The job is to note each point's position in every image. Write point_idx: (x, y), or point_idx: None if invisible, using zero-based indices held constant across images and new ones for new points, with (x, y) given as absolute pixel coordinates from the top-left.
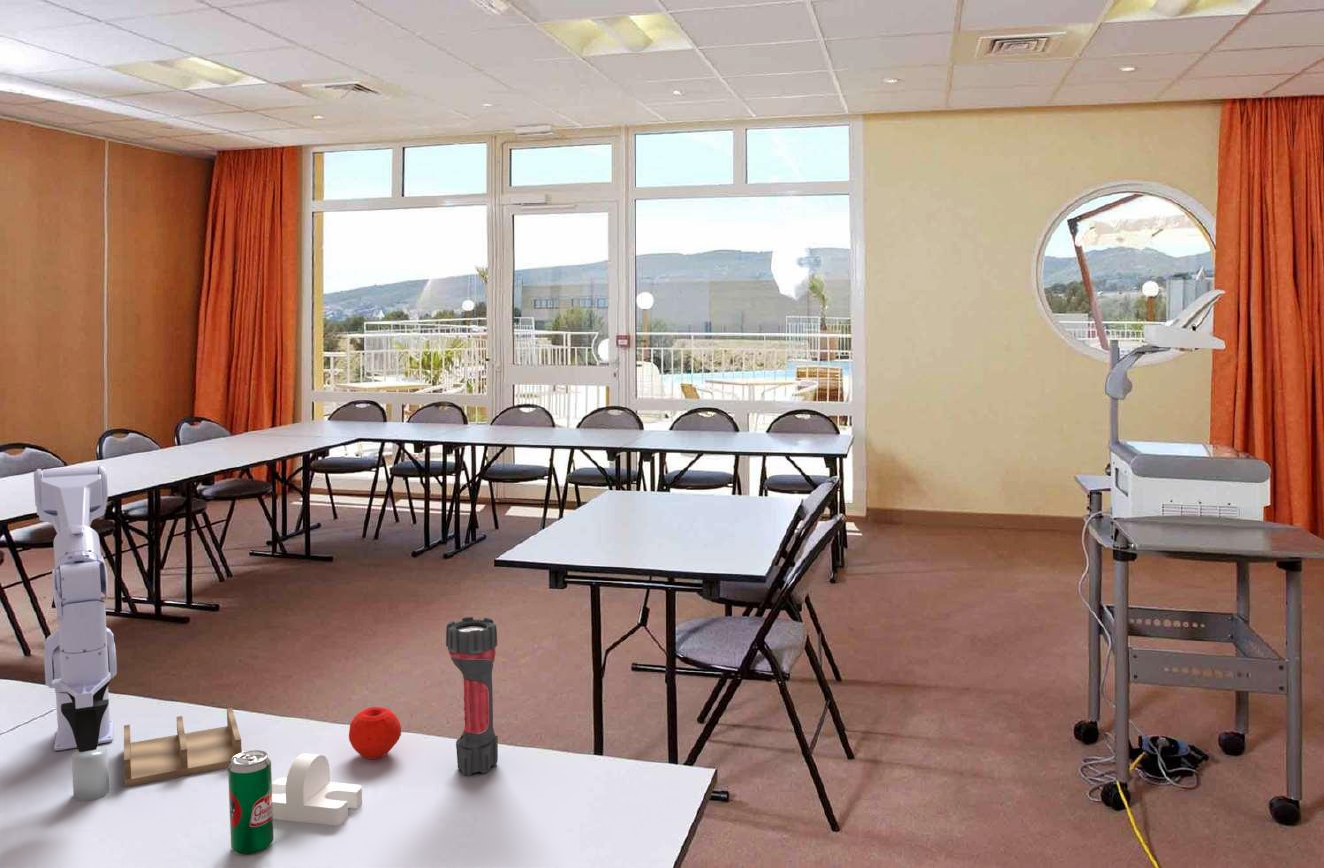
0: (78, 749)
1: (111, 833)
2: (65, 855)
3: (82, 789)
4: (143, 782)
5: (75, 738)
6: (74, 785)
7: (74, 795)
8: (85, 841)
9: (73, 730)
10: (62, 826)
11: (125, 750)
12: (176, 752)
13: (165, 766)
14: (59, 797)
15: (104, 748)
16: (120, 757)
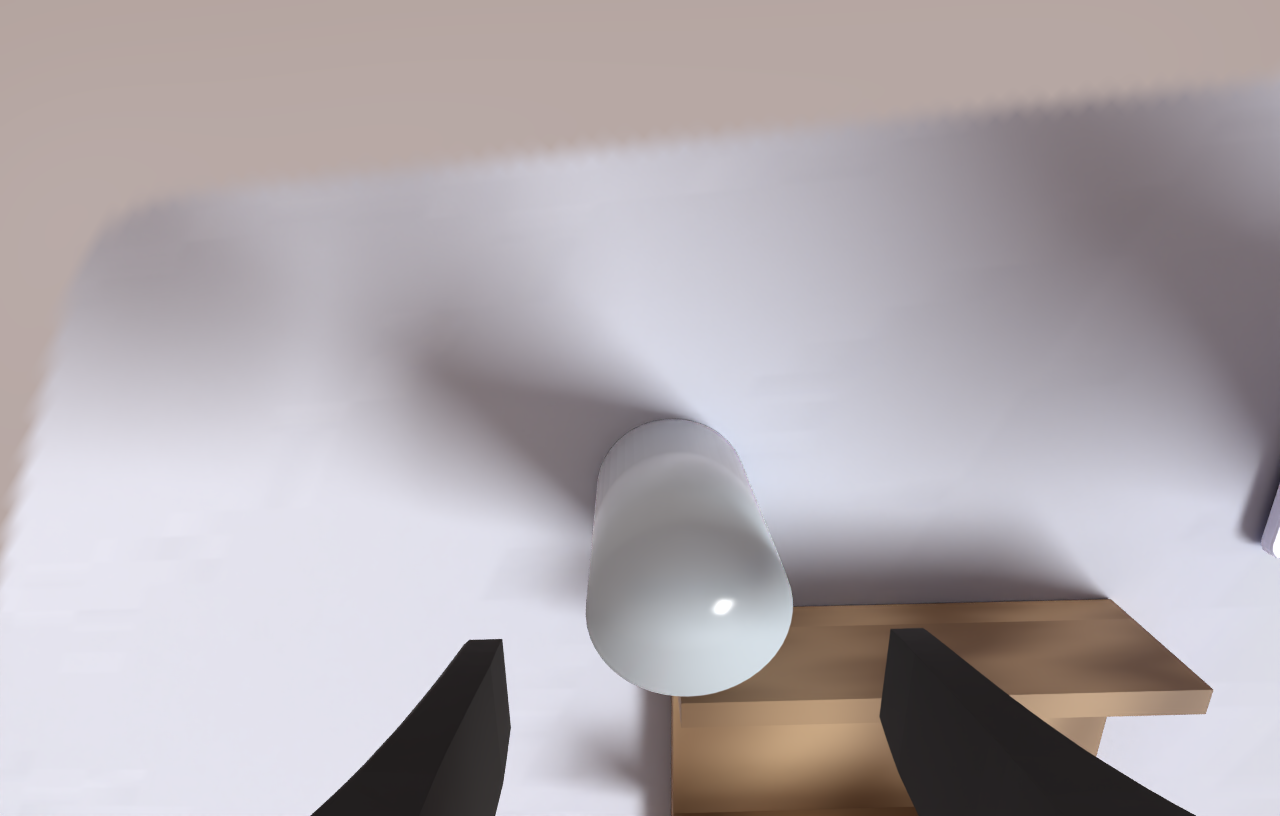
0: (459, 651)
1: (216, 575)
2: (54, 423)
3: (602, 484)
4: None
5: (407, 717)
6: (637, 455)
7: (643, 431)
8: (169, 489)
9: (349, 785)
10: (355, 393)
11: (819, 705)
12: (873, 798)
13: (741, 762)
14: (697, 359)
15: (724, 681)
16: (1030, 583)
